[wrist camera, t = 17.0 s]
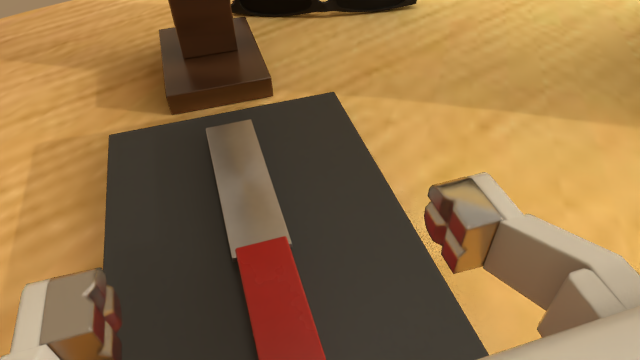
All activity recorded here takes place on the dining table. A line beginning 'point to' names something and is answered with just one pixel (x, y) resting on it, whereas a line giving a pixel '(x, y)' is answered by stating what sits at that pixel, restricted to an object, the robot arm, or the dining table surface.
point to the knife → (261, 247)
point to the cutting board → (307, 247)
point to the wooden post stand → (210, 57)
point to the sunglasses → (312, 6)
